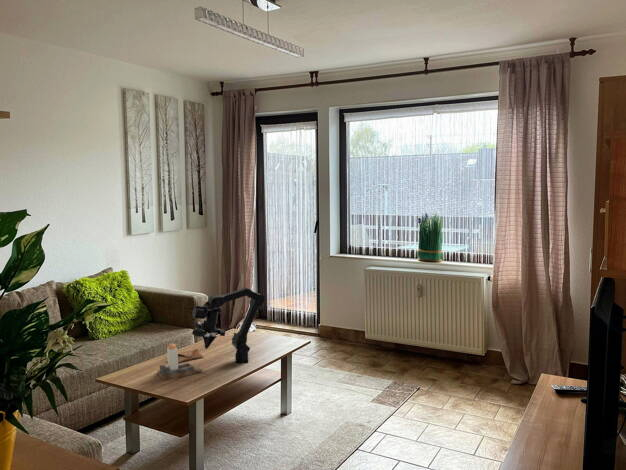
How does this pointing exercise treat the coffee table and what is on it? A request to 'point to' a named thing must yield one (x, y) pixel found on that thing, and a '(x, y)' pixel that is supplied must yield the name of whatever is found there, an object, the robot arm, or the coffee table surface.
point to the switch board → (179, 371)
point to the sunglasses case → (189, 356)
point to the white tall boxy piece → (172, 357)
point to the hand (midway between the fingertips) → (206, 348)
